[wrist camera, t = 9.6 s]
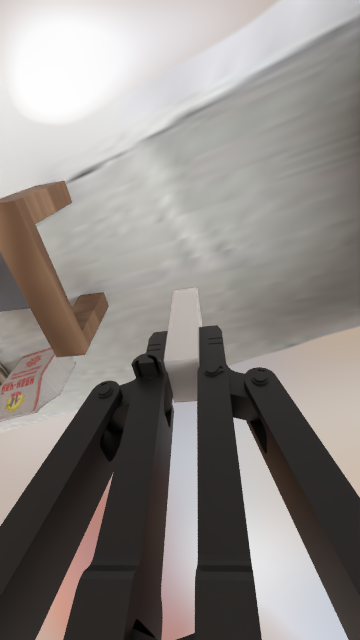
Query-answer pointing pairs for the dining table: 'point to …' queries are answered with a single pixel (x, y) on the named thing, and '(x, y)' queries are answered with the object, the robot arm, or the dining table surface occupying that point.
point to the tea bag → (33, 383)
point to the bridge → (46, 270)
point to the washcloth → (3, 374)
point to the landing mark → (10, 290)
